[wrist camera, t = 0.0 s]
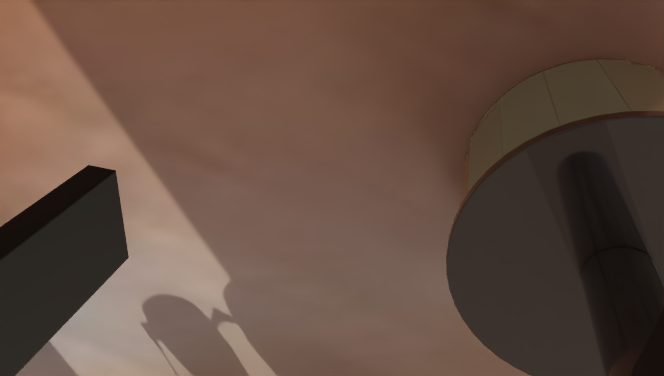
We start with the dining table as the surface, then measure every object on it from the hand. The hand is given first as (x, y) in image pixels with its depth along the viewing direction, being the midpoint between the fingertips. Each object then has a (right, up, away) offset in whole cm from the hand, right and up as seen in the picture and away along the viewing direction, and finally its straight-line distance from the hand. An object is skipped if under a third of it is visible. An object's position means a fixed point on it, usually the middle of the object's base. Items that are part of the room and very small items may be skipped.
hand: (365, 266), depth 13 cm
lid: (+11, -1, +9) cm, 14 cm away
